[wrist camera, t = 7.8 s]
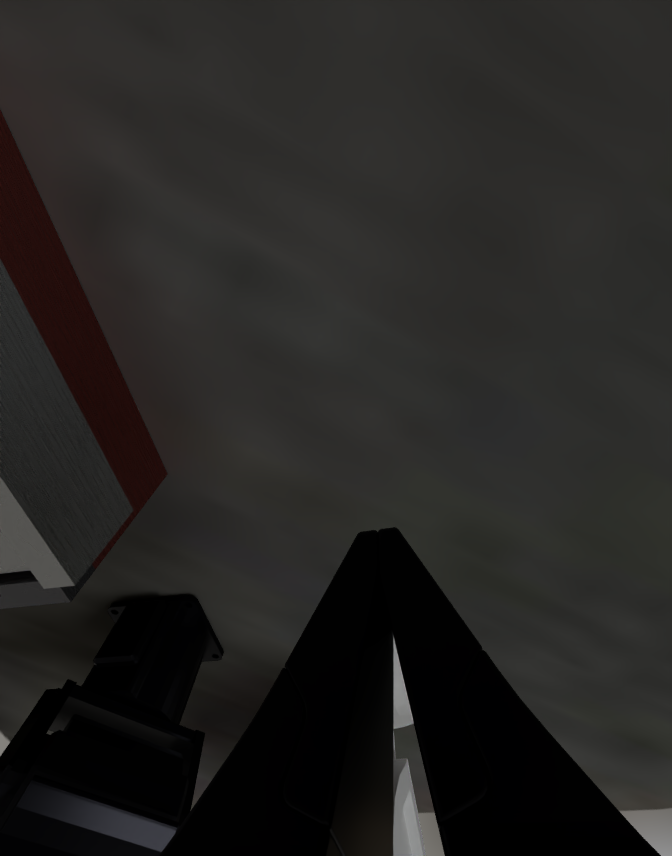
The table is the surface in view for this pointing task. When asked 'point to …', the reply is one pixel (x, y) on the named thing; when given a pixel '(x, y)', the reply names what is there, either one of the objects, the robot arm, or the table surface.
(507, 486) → the table surface
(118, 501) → the lid
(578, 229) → the table surface
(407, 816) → the heart sculpture
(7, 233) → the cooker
